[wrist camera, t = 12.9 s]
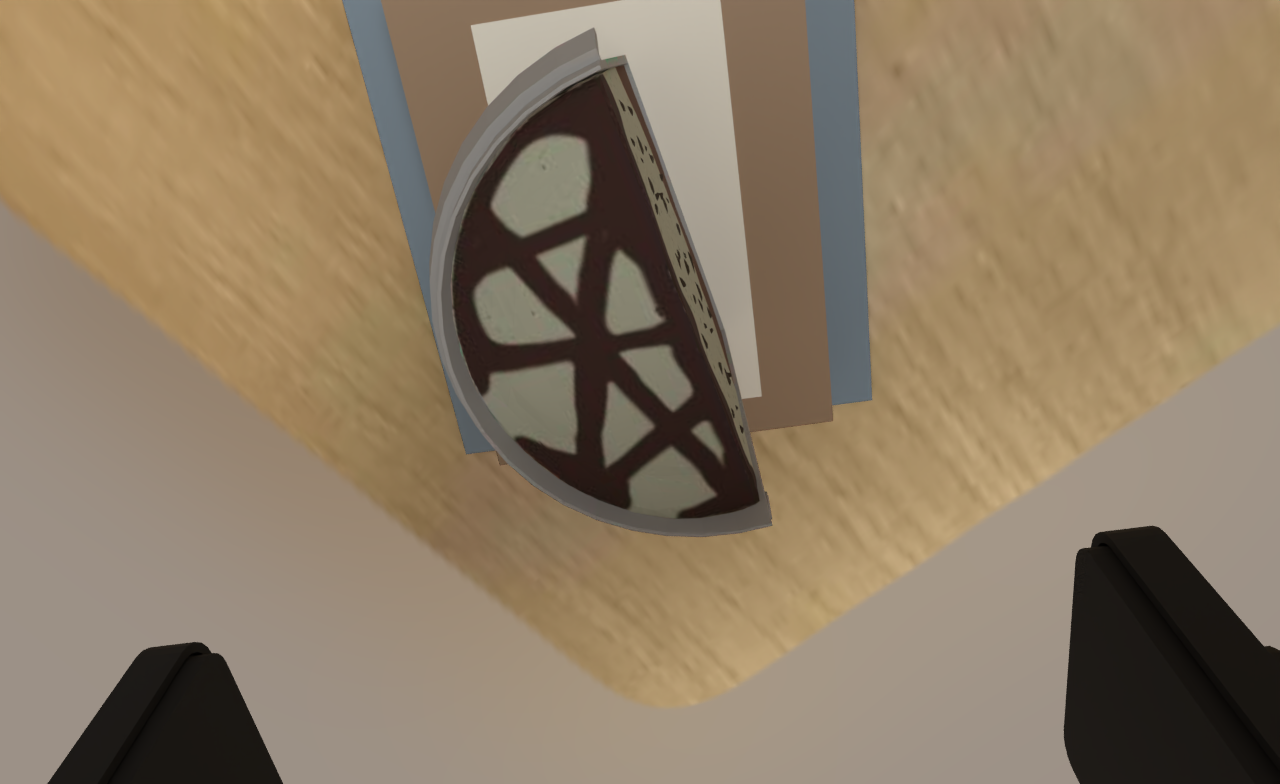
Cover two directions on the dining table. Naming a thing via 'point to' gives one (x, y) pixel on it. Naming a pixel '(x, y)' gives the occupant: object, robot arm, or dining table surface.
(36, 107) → the dining table surface
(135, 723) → the robot arm
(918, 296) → the dining table surface
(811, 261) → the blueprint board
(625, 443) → the food container
